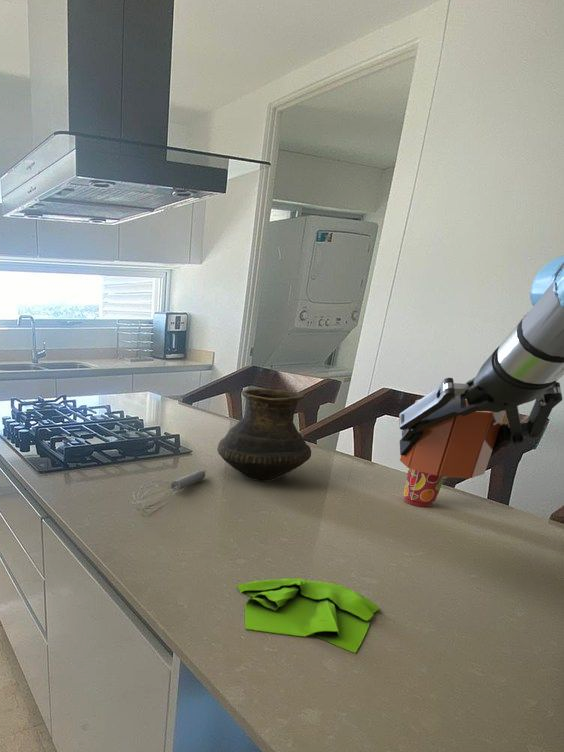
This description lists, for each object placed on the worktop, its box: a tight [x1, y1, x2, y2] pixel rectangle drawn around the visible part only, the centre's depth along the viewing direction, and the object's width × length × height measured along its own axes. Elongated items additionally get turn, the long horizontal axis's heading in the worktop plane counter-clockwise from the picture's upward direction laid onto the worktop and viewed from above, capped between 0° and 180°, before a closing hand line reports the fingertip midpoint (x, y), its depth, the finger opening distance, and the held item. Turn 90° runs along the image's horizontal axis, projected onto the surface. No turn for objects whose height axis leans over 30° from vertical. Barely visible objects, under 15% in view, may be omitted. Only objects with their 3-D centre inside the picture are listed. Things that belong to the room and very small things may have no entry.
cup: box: [399, 398, 506, 479], centre depth 77 cm, size 10×11×11 cm
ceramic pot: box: [216, 388, 312, 482], centre depth 130 cm, size 24×24×22 cm
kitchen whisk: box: [132, 469, 207, 513], centre depth 119 cm, size 6×34×6 cm, turn 145°
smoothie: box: [402, 468, 446, 508], centre depth 114 cm, size 8×8×20 cm
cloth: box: [236, 577, 380, 654], centre depth 75 cm, size 20×22×2 cm
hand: (441, 450), depth 79 cm, fingers closed on cup, 11 cm apart
